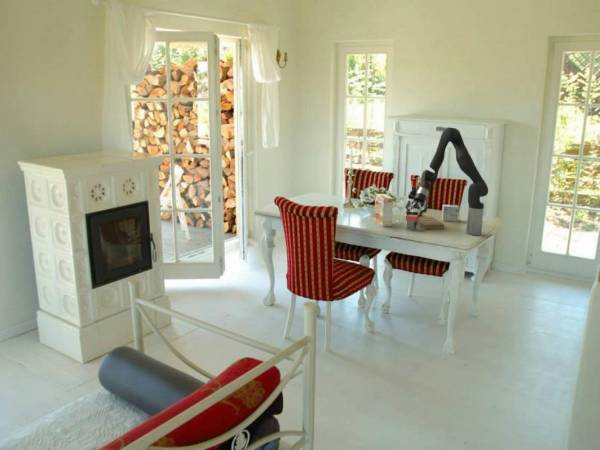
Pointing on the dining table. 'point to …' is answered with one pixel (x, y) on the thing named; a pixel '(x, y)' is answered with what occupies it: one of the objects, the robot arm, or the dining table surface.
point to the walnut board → (429, 223)
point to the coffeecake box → (383, 210)
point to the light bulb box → (450, 213)
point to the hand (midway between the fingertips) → (413, 215)
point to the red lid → (412, 217)
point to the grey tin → (411, 225)
